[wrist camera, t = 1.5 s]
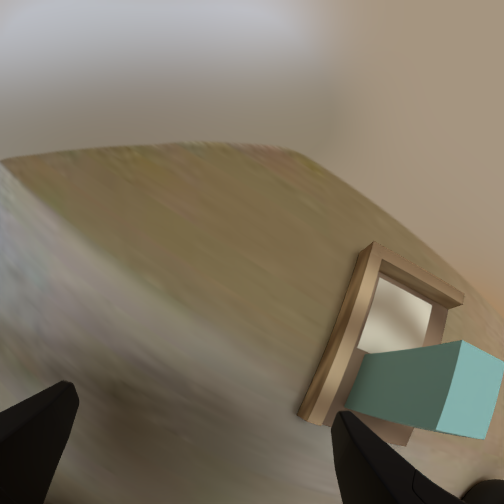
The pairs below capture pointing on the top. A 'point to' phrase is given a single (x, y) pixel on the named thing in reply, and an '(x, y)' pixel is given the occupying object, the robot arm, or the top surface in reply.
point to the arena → (378, 331)
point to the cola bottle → (486, 493)
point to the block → (430, 388)
